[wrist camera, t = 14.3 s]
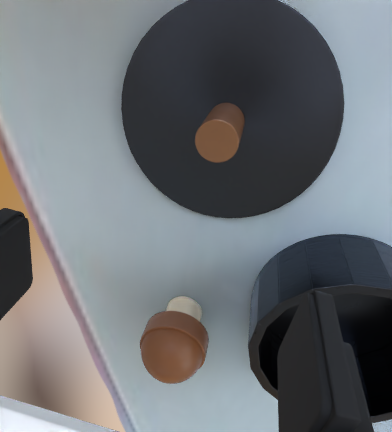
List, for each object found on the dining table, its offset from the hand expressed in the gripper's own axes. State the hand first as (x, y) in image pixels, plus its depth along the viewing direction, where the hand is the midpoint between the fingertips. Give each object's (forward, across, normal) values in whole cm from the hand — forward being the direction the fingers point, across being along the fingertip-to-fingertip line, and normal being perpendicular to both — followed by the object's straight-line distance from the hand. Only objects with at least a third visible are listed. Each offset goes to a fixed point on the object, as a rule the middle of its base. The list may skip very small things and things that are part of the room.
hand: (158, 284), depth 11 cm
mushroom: (+17, 0, +18) cm, 25 cm away
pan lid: (+17, 0, -2) cm, 17 cm away
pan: (+17, -13, +12) cm, 25 cm away
